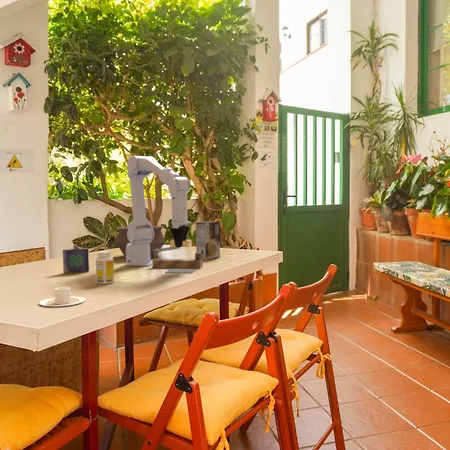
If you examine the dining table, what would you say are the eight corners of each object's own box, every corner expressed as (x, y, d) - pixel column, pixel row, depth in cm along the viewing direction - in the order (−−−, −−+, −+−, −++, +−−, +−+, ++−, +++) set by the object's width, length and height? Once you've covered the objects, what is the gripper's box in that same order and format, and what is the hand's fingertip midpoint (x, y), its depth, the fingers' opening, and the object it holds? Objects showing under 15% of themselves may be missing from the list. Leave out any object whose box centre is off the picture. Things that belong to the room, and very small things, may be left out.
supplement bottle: (115, 281, 167) (114, 250, 166) (112, 284, 161) (112, 252, 160) (98, 281, 166) (97, 251, 165) (95, 284, 161) (94, 253, 160)
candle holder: (35, 302, 137) (34, 287, 137) (78, 297, 143) (78, 282, 143) (44, 311, 127) (43, 294, 127) (91, 304, 133) (90, 288, 133)
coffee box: (210, 256, 227) (210, 221, 226) (220, 257, 223) (220, 221, 222) (195, 258, 221) (195, 222, 220) (205, 259, 216) (205, 222, 215)
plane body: (152, 267, 194) (152, 253, 194) (155, 266, 198) (155, 252, 198) (200, 268, 192) (200, 253, 191) (202, 266, 196) (202, 252, 196)
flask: (63, 273, 183) (62, 244, 182) (63, 272, 186) (62, 244, 185) (89, 272, 186) (88, 243, 185) (88, 271, 189) (88, 243, 188)
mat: (165, 273, 181) (165, 272, 181) (170, 269, 189) (170, 268, 189) (191, 273, 180) (191, 272, 180) (196, 269, 188) (196, 269, 188)
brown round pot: (157, 260, 215) (156, 222, 214) (105, 260, 219) (104, 223, 218) (173, 253, 239) (172, 219, 237) (125, 253, 243) (124, 219, 242)
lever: (156, 258, 194) (156, 249, 194) (152, 258, 196) (151, 249, 195) (180, 254, 207) (180, 246, 207) (176, 254, 208) (176, 245, 208)
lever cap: (170, 247, 182) (170, 241, 182) (173, 245, 187) (173, 239, 187) (188, 247, 181) (188, 241, 181) (191, 245, 186) (191, 239, 186)
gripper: (186, 210, 175) (186, 248, 176) (194, 208, 190) (194, 244, 191) (166, 210, 176) (167, 248, 177) (176, 209, 191) (176, 244, 192)
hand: (180, 246), depth 184 cm, fingers closed on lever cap, 5 cm apart
